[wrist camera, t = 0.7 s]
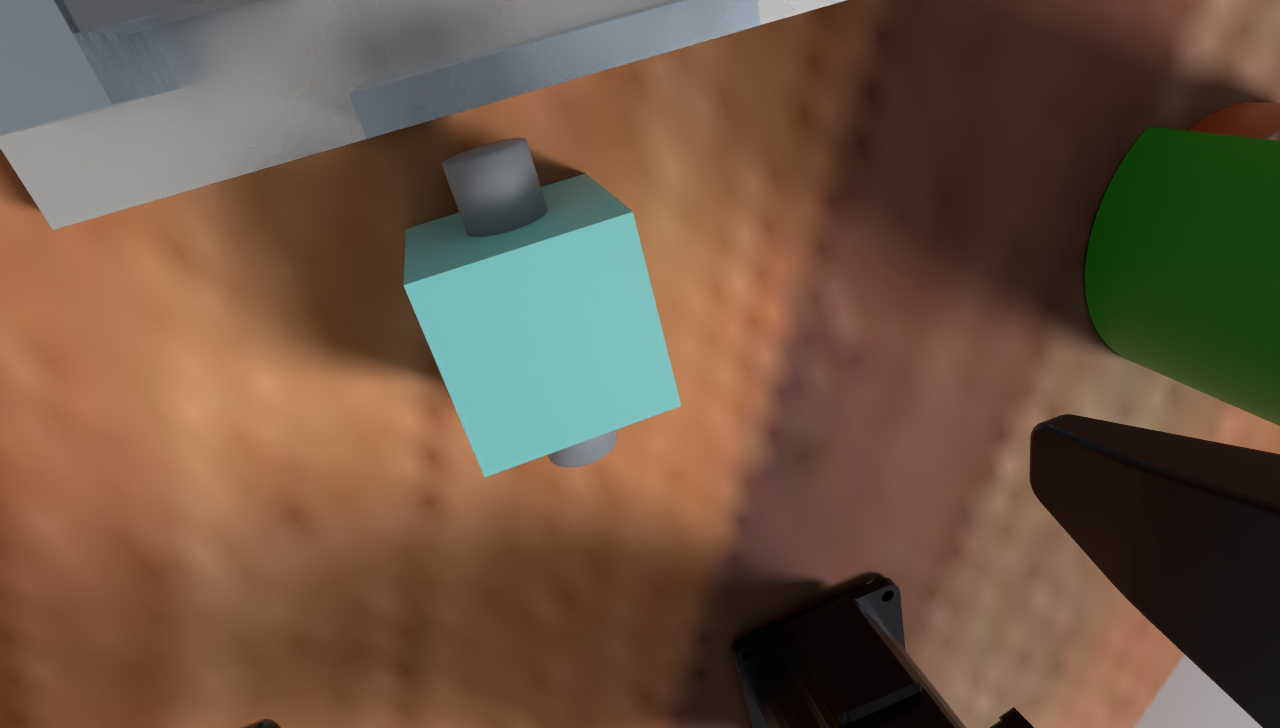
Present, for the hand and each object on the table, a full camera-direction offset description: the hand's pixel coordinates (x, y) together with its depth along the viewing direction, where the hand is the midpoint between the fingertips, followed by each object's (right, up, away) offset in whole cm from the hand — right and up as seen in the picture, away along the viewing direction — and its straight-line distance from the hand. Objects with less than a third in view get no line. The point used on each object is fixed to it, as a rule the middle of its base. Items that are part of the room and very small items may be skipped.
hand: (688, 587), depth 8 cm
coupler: (-3, +5, +10) cm, 12 cm away
